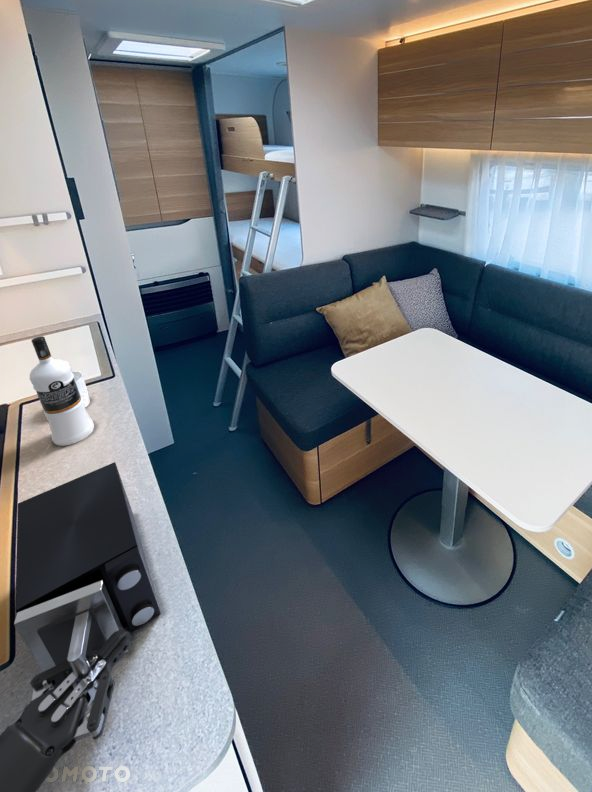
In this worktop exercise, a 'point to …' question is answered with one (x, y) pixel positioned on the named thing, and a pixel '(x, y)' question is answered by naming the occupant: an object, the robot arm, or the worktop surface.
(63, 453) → the worktop surface
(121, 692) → the worktop surface
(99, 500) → the microwave
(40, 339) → the vodka
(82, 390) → the white cup
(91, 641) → the microwave door
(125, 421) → the worktop surface
